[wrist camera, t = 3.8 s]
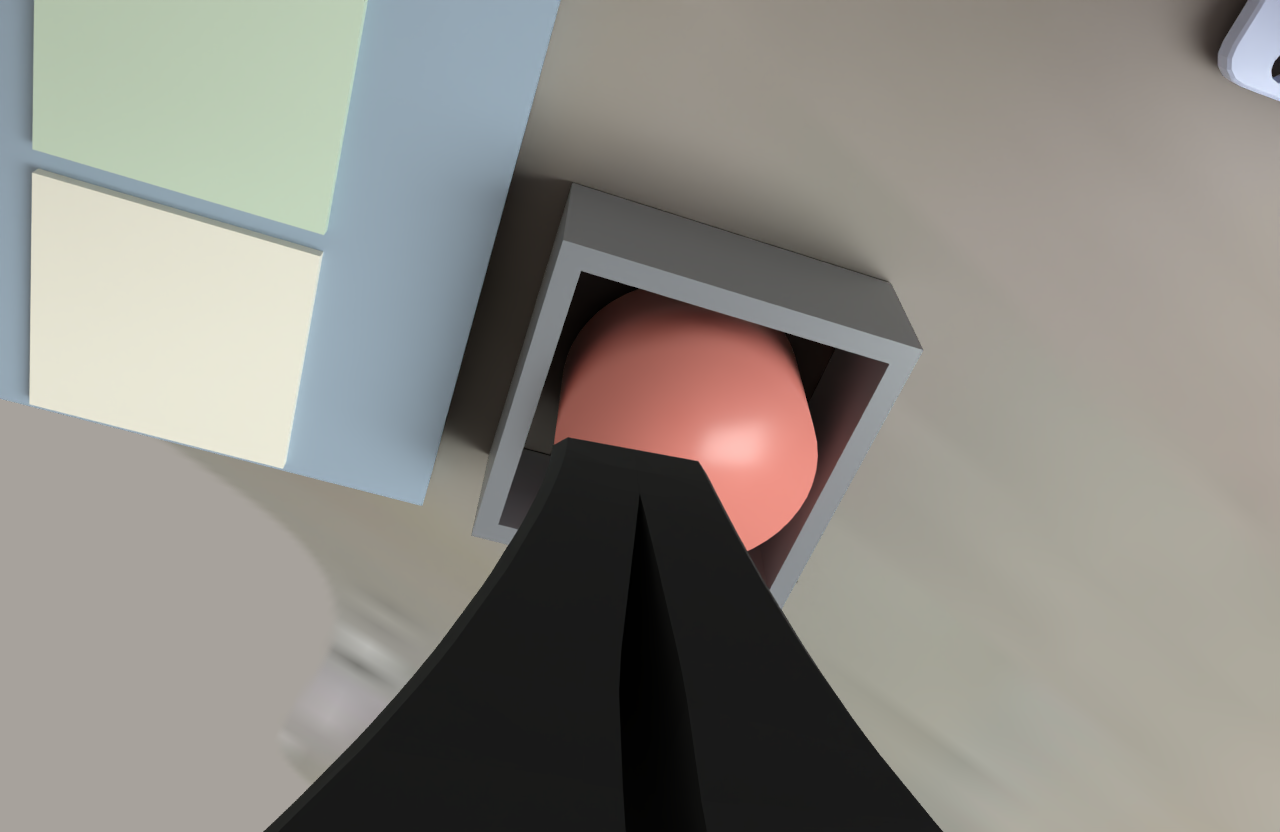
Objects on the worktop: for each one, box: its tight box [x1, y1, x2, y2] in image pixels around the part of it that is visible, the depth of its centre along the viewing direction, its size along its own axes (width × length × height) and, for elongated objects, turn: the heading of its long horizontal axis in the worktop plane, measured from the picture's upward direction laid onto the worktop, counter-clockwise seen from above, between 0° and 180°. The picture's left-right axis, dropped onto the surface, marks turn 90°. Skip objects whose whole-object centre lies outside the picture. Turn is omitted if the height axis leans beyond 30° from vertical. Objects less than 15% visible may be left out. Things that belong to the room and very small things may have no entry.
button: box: [554, 289, 818, 551], centre depth 18 cm, size 4×4×2 cm
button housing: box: [471, 183, 923, 609], centre depth 18 cm, size 6×6×2 cm
